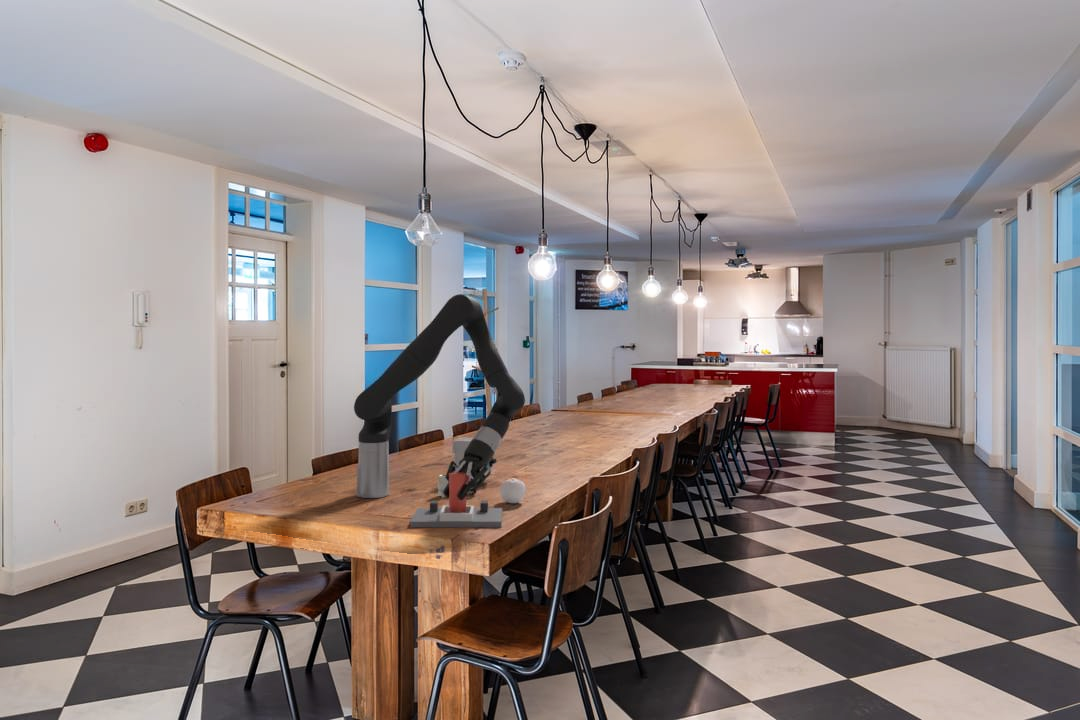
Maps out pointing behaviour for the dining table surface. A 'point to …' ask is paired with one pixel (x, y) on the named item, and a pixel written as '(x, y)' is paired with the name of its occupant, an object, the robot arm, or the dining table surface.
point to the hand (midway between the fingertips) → (452, 496)
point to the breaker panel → (457, 516)
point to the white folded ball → (512, 490)
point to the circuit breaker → (461, 446)
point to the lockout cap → (456, 492)
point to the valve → (443, 484)
